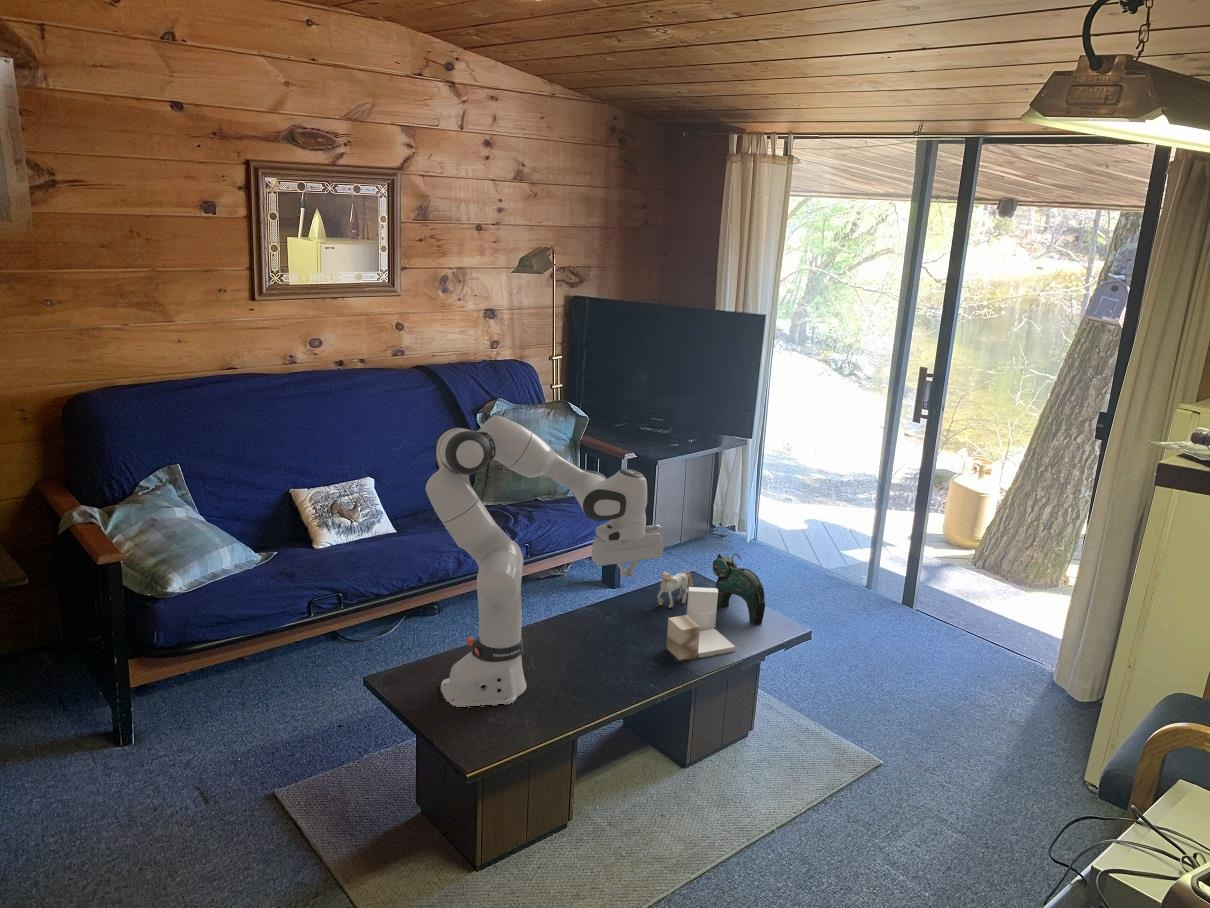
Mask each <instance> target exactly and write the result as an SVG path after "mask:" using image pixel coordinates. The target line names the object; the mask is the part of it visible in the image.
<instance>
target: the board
mask: <svg viewBox="0 0 1210 908" xmlns="http://www.w3.org/2000/svg"><path fill="white" fill-rule="evenodd" d="M732 652H734V653H735V652H736V646H735V645H734V644H733V643H732V642H731V641H729V640H728V639H727V638H726V637H725V636H724V635H723V634H721V633H720V632H719V631H718V630H717V629H716V628H715V629H710V630H704V631H700V635H699V648H698V658H699V659H701V657H702V658H706V657H713V656H716V655H717V656H718V655H722V654H728V653H732ZM698 658H697V659H698Z"/></svg>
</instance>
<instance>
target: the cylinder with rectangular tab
mask: <svg viewBox="0 0 1210 908" xmlns="http://www.w3.org/2000/svg"><path fill="white" fill-rule="evenodd" d="M717 599H718V589H717V588H716V587H698V586H695V587H694V586H692V587H689V590H688V593H687V606H686V615H687V616H688V617H690V618H691V619H692V620H693V621H694V622H695V623H696V624H697V625H699V626H700V631H704V630H710V629H714V628H715V629H716V620H717V612H718V611H717V609H718V608H717Z"/></svg>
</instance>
